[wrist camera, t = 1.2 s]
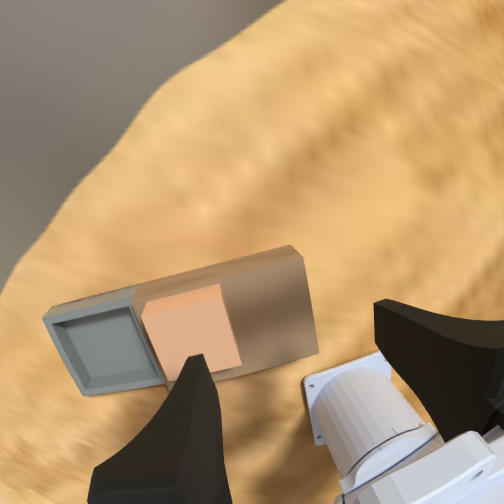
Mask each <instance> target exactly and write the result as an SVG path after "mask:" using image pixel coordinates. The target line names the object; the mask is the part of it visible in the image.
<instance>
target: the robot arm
mask: <svg viewBox="0 0 504 504" xmlns="http://www.w3.org/2000/svg"><path fill="white" fill-rule="evenodd" d="M373 305H374V328H375V343H376V345H377V347H378V348H379V350H380V351H377V352H375V353H372V354H370V355H367V356H364V357H362V358H359V359H356V360H353V361H351V362H348V363H345V364H342V365H339V366H336V367H334V368H331V369H328V370H325V371H322V372H319V373H315V374H312V375H309V376H307V377H305V378H304V381H303V382H304V387H305V393H306V398H307V404H308V409H309V415H310V420H311V426H312V431H313V437H314V442H315V445H316V446H321V445H324V444H326V445H327V447H328V449H329V451H330V454H331V456H332V458H333V460H334V463H335V465H336V467H337V469H338V472H339V474H340V476H341V478H342V480H340V481H339V485H340V487H341V489H342V492H343V493H342V494H340V495H338V496H337V497H336V498H335V500H334V504H504V320H502V321H483V320H469V319H462V318H455V317H450V316H445V315H441V314H437V313H433V312H429V311H426V310H423V309H419V308H416V307H413V306H410V305H406V304H403V303H400V302H397V301H393V300H389V299H384V300H381V301H378V302H375V303H373ZM384 359H385V360H384ZM391 366H392V367H393V369H394V370H395V371H396V372H397V373H398V374H399V375H400V377H401V378H402V379H403V380H404V381H405V382H406V383H407V385H408V386H409V387H410V388H411V389H412V390H413V392H414V393H415V394H416V395H417V397H418V398H419V400H420V401H421V403H422V404H423V406H424V407H425V409H426V410H427V412H428V413H429V415H430V417H431V419H432V420H433V422H434V424H435V425H436V427H437V429H438V432H437V431H436V429H435V428H434V427H433V426H432V425H431V423H430V422H428V423H427V424H425V422H424V421H423V420H422V419H421V417H420V416H419V415H418V414H417V412H416V411H415V410H414V409H413V408H412V406H411V405H410V404H409V403H408V401H407V400H406V399H405V398H404V396H403V395H402V394H401V393H400V392H399V390H398V389H397V388H396V387H395V385H394V384H393V383H392V382H391ZM312 384H313V385H312ZM309 385H312V386H309ZM308 386H309V387H308ZM87 502H88V504H233V503H232V499H231V494H230V489H229V485H228V480H227V475H226V470H225V464H224V456H223V439H222V420H221V409H220V403H219V398H218V392H217V389H216V386H215V384H214V381H213V379H212V376H211V374H210V371H209V368H208V366H207V363H206V360H205V358H204V355H203V353H202V354H198V355H194V356H189V357H188V358H187V359H186V361H185V363H184V366H183V368H182V370H181V372H180V374H179V376H178V378H177V380H176V382H175V384H174V386H173V387H172V389H171V391H170V393H169V395H168V396H167V398H166V399H165V401H164V403H163V404H162V406H161V407H160V409H159V410H158V412H157V413H156V414H155V416H154V417H153V418H152V419H151V421H150V422H149V423H148V424H147V425H146V426H145V427H144V428H143V430H142V431H141V432H140V433H139V434H138V435H137V436H136V437H135V438H134V439H133V440H132V441H131V442H129V443H128V444H127V445H126V446H125V447H124V448H122V449H121V450H120V451H119V452H117V453H116V454H115V455H113V456H112V457H110V458H109V459H107V460H106V461H104V462H103V463H101V464H100V465H98V466H97V467H95V468H94V470H93V474H92V477H91V482H90V488H89V493H88V499H87Z"/></svg>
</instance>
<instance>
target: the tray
mask: <svg viewBox="0 0 504 504" xmlns="http://www.w3.org/2000/svg"><path fill="white" fill-rule="evenodd" d="M139 285H140V284H138V285H134V286H130V287H126V288H122V289H118V290H114V291H110V292H107V293H103V294H99V295H95V296H91V297H87V298H83V299H79V300H75V301H72V302H68V303H64V304H60V305H56V306H52V307H51V309H50V310H49V311H48V312H47V313H46V314H45V315H44V316H43V317H42V319H43V322H44V324H45V326H46V328H47V330H48V332H49V334H50V336H51V338H52V341H53V343H54V345H55V347H56V349H57V350H58V352H59V354H60V356H61V358H62V360H63V362H64V364H65V366H66V367H67V369H68V371H69V373H70V375H71V376H72V378H73V380H74V382H75V383H76V385H77V387H78V389H79V390H80V392H81V394H82V395H83V396H89V395H97V394H104V393H111V392H118V391H125V390H131V389H137V388H143V387H149V386H155V385H160V384H165V381H164V379H163V376H162V374H161V372H160V370H159V368H158V366H157V363H156V361H155V359H154V357H153V354H152V352H151V350H150V347H149V345H148V343H147V340H146V338H145V336H144V333H143V331H142V328H141V326H140V324H139V321H138V319H137V316H136V313H135V311H134V308H133V306H132V303H131V300H132V298H133V296H134V294H135V292H136V290H137V289H138V287H139Z"/></svg>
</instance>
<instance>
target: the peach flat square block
mask: <svg viewBox="0 0 504 504" xmlns="http://www.w3.org/2000/svg"><path fill="white" fill-rule="evenodd" d="M141 318H142V321H143V323H144V326H145V328H146V331H147V333H148V335H149V338H150V340H151V343H152V345H153V347H154V350H155V352H156V354H157V357H158V359H159V361H160V363H161V366H162V368H163V370H164V372H165V374H166V377H167V379H168V381H174V380H177V378H178V376H179V374H180V372H181V370H182V368H183V366H184V363H185V361H186V359H187V358H188V357H189V356H194V355H198V354H202V353H203V355H204V358H205V360H206V363H207V366H208V368H209V371H210V373H211V372H215V371H220V370H224V369H228V368H232V367H236V366H240V365H242V362H241V357H240V352H239V347H238V344H237V340H236V337H235V334H234V330H233V327H232V324H231V320H230V317H229V313H228V310H227V307H226V303H225V300H224V296H223V293H222V289H221V286H220V283H219V284H215V285H211V286H207V287H203V288H200V289H196V290H192V291H188V292H184V293H180V294H176V295H172V296H168V297H164V298H160V299H156V300H152V301H148V302H146V305H145V307H144V310H143V312H142V315H141Z"/></svg>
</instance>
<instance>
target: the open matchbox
mask: <svg viewBox="0 0 504 504" xmlns="http://www.w3.org/2000/svg"><path fill="white" fill-rule="evenodd" d="M219 283H220V286H221V289H222V293H223V296H224V300H225V303H226V307H227V310H228V313H229V317H230V320H231V324H232V327H233V330H234V334H235V337H236V340H237V344H238V347H239V352H240V357H241V362H242V365H240V366H236V367H232V368H228V369H224V370H220V371H215V372H211V373H210V374H211V376H212V379H213V381H214V382H216V381H220V380H225V379H229V378H233V377H237V376H241V375H245V374H249V373H253V372H257V371H260V370H264V369H268V368H271V367H275V366H279V365H282V364H285V363H289V362H292V361H296V360H299V359H302V358H306V357H309V356H312V355H315V354H318V353H319V349H318V342H317V336H316V329H315V323H314V317H313V311H312V305H311V299H310V293H309V287H308V282H307V276H306V270H305V265H304V259H303V256H301V255H300V254H299V253H298V252H297V251H296V250H295V249H294V248H293V247H292V246H291V245H288V246H284V247H280V248H276V249H272V250H268V251H265V252H261V253H257V254H253V255H249V256H245V257H242V258H238V259H234V260H230V261H226V262H222V263H219V264H215V265H211V266H207V267H203V268H199V269H195V270H192V271H188V272H184V273H180V274H176V275H172V276H168V277H165V278H161V279H157V280H153V281H149V282H145V283H141V284H140V285H139V287H138V289H137V290H136V292H135V294H134V296H133V298H132V300H131V303H132V306H133V308H134V311H135V313H136V316H137V319H138V321H139V324H140V326H141V328H142V331H143V333H144V336H145V338H146V340H147V343H148V345H149V347H150V350H151V352H152V354H153V357H154V359H155V361H156V363H157V366H158V368H159V370H160V372H161V374H162V376H163V379H164V381H165V383H166V385H167V387H168V389H169V391H171V389H172V387H173V386H174V384H175V382H176V380H174V381H168V379H167V377H166V374H165V372H164V370H163V368H162V366H161V363H160V361H159V359H158V357H157V354H156V352H155V350H154V347H153V345H152V343H151V340H150V338H149V335H148V333H147V331H146V328H145V326H144V323H143V321H142V318H141V315H142V312H143V310H144V307H145V305H146V302H148V301H152V300H156V299H160V298H164V297H168V296H172V295H176V294H180V293H184V292H188V291H192V290H196V289H200V288H203V287H207V286H211V285H215V284H219Z"/></svg>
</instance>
